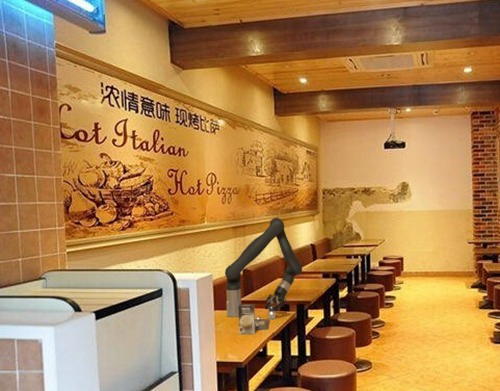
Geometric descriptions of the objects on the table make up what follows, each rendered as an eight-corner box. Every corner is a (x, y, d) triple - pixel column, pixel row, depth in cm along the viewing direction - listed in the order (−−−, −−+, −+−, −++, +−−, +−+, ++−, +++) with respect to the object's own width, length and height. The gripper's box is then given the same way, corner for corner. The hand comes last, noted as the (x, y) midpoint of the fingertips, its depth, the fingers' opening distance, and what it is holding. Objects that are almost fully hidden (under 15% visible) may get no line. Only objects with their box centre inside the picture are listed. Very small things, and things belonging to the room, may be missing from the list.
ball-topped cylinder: (268, 319, 366) (268, 306, 366) (268, 317, 371) (268, 305, 370) (275, 319, 366) (275, 306, 366) (275, 317, 371) (275, 305, 370)
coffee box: (238, 334, 331) (237, 306, 331) (240, 331, 337) (238, 304, 337) (254, 334, 330) (253, 305, 330) (255, 331, 336) (254, 303, 336)
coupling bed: (245, 330, 340) (245, 324, 340) (248, 320, 364) (248, 315, 364) (267, 329, 340) (267, 323, 340) (269, 320, 363) (269, 315, 363)
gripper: (271, 284, 379) (259, 305, 371) (287, 286, 368) (274, 307, 360) (278, 291, 382) (265, 311, 375) (293, 293, 371) (281, 314, 364)
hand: (270, 309), depth 368 cm, fingers open, 8 cm apart
